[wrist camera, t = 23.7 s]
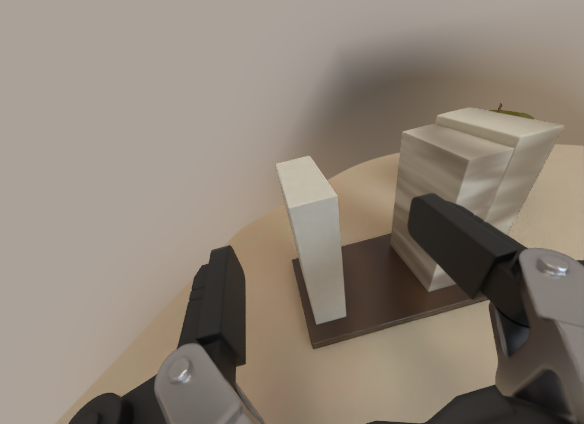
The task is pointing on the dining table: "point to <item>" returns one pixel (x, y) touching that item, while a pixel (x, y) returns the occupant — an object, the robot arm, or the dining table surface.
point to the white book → (315, 235)
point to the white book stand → (451, 187)
